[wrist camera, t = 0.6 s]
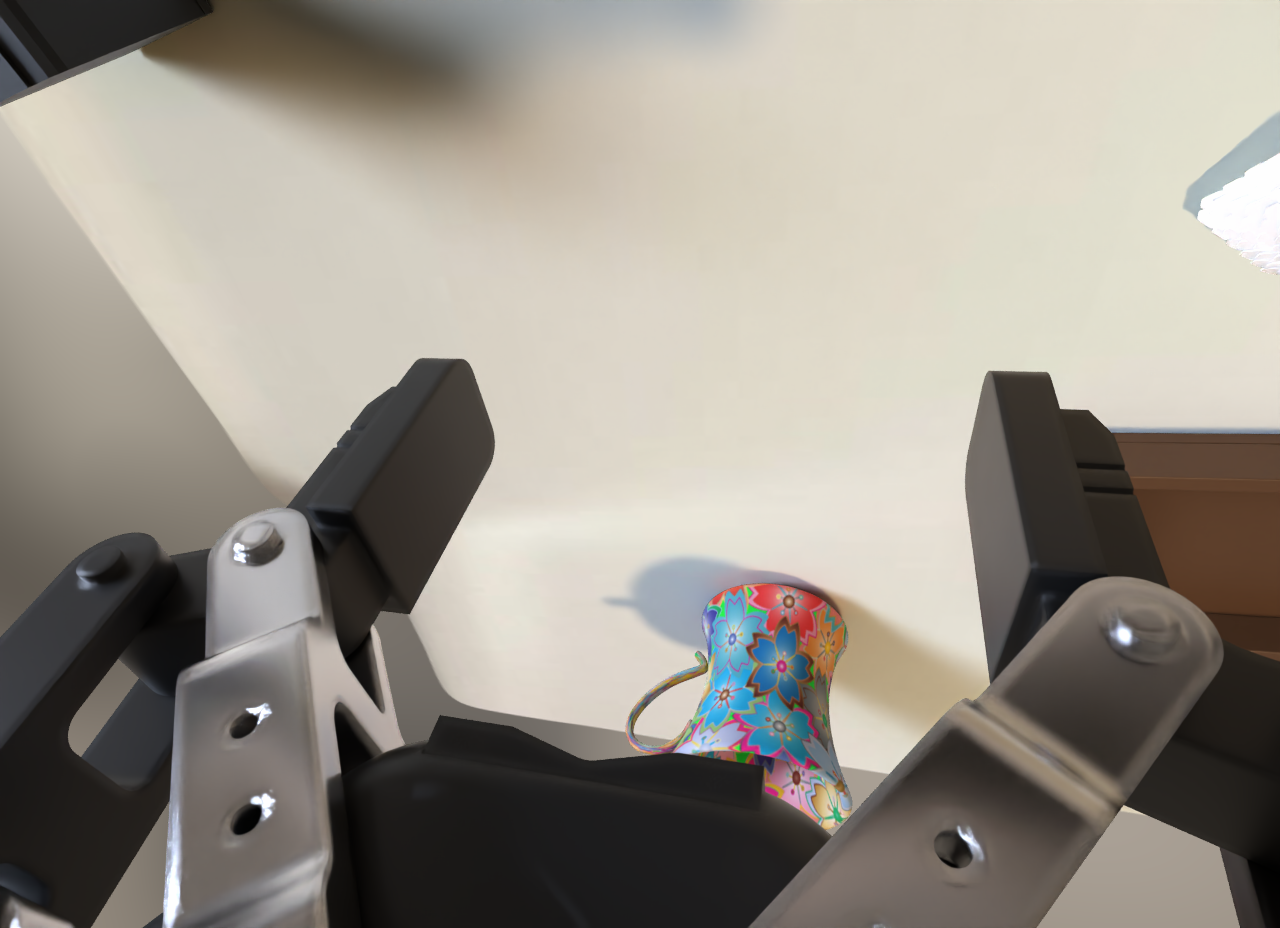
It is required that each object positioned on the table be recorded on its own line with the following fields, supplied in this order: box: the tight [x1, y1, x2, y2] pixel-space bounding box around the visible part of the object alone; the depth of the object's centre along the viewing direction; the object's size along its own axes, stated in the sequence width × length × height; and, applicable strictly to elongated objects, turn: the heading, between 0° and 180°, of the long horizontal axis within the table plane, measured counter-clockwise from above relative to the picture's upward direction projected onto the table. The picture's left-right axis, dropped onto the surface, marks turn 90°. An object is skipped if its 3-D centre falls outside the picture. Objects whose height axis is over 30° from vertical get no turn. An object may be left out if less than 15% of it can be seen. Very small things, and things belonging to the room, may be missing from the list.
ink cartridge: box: [0, 0, 213, 106], centre depth 24 cm, size 5×2×8 cm, turn 110°
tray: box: [1112, 433, 1280, 661], centre depth 31 cm, size 11×16×3 cm
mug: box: [626, 583, 852, 830], centre depth 40 cm, size 12×9×11 cm
